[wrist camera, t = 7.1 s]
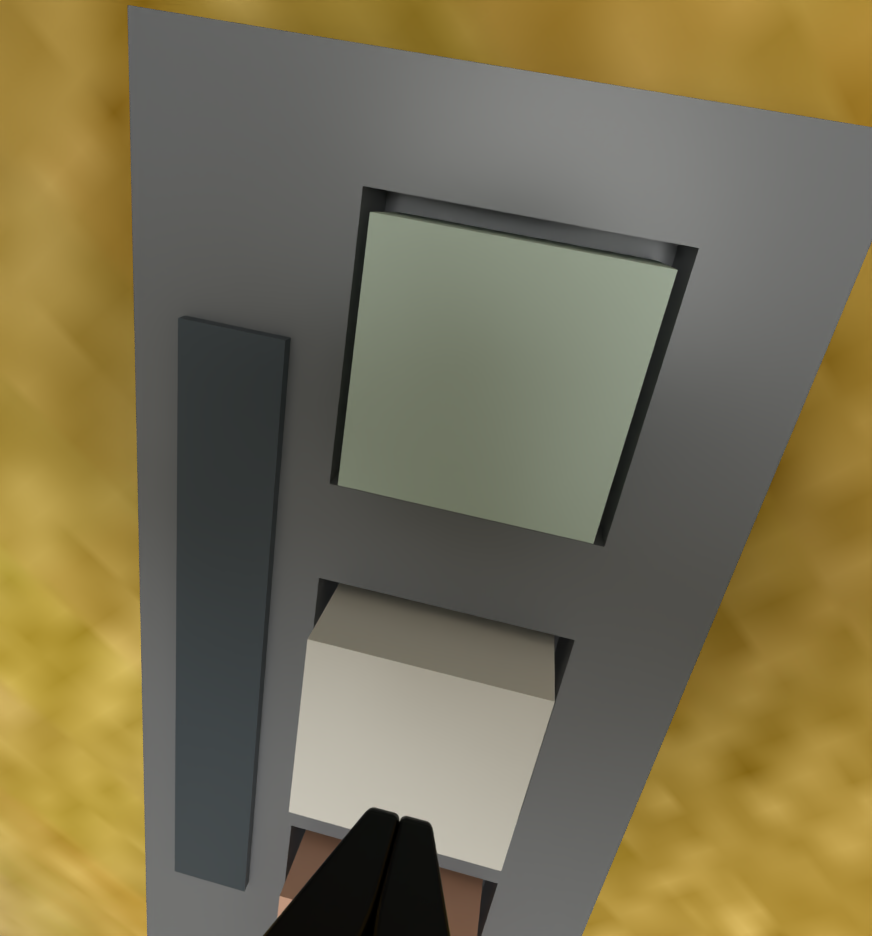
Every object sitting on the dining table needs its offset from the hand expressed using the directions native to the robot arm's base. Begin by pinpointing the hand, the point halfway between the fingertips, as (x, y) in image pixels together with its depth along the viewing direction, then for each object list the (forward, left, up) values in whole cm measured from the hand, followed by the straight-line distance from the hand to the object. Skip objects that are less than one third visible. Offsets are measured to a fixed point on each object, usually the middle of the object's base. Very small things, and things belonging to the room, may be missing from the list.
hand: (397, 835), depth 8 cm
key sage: (0, +4, -9) cm, 10 cm away
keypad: (-1, -5, -10) cm, 11 cm away
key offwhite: (0, -5, -8) cm, 9 cm away
